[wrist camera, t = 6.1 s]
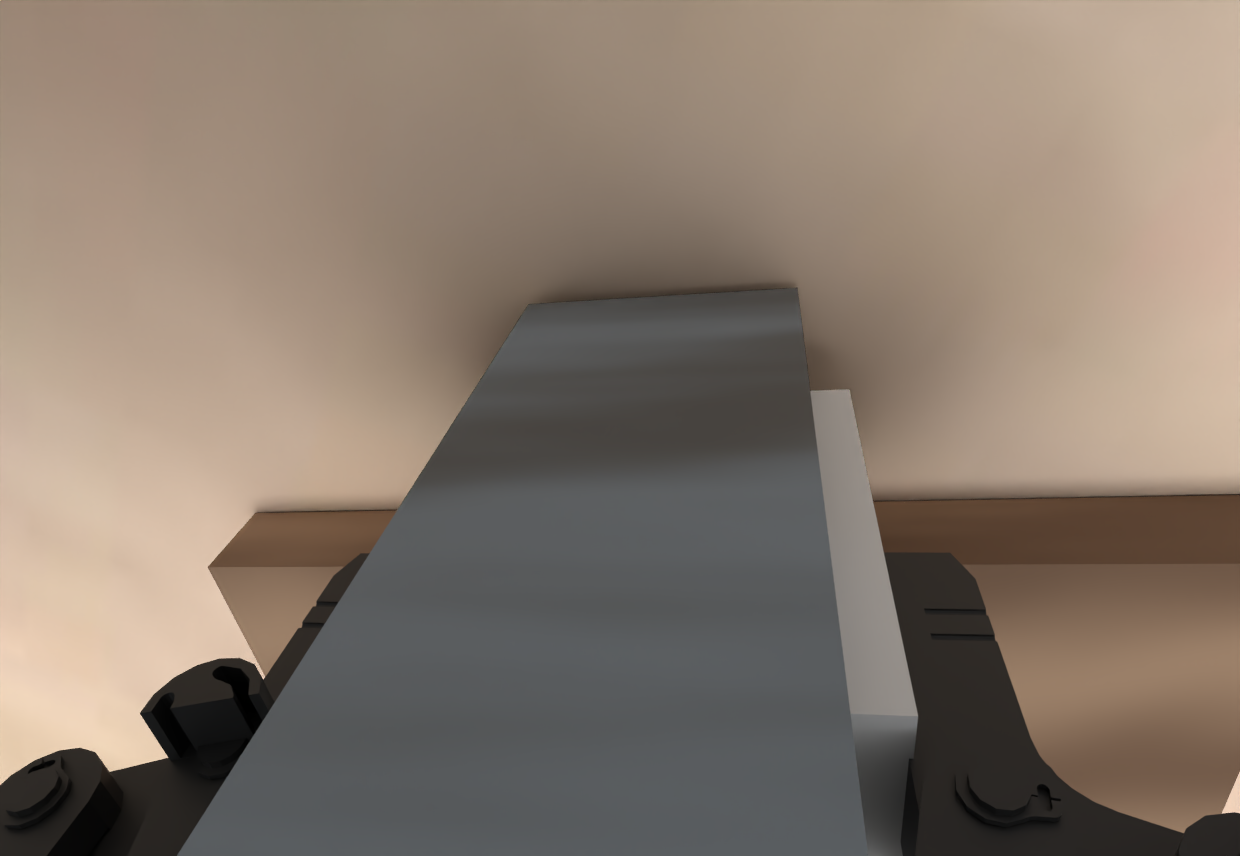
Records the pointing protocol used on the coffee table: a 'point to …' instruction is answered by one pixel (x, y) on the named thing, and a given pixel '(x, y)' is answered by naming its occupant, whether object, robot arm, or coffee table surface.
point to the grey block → (584, 617)
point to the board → (1016, 605)
